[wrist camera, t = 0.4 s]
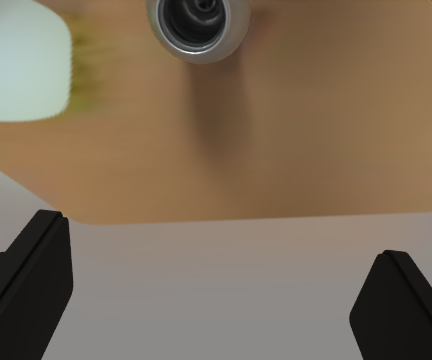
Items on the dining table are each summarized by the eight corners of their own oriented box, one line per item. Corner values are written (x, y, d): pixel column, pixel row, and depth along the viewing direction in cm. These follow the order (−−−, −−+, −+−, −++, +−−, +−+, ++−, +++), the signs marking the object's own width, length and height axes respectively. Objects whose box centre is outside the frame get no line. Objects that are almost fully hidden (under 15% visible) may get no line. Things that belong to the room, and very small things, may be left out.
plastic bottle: (197, -57, 33) (173, -104, 15) (253, -5, 35) (288, 7, 17) (158, 4, 35) (97, 25, 18) (211, 50, 37) (205, 109, 20)
